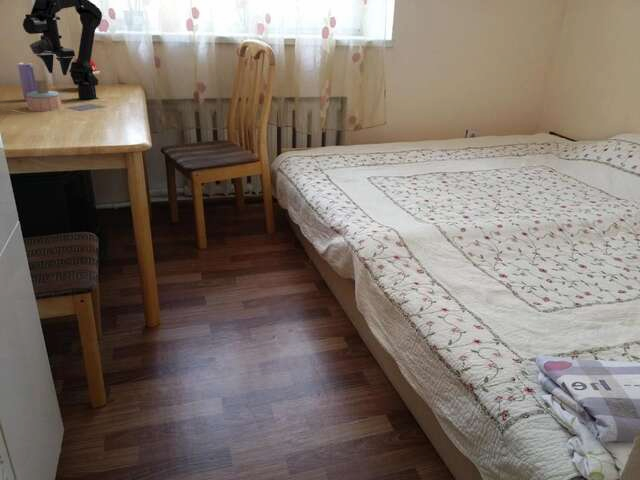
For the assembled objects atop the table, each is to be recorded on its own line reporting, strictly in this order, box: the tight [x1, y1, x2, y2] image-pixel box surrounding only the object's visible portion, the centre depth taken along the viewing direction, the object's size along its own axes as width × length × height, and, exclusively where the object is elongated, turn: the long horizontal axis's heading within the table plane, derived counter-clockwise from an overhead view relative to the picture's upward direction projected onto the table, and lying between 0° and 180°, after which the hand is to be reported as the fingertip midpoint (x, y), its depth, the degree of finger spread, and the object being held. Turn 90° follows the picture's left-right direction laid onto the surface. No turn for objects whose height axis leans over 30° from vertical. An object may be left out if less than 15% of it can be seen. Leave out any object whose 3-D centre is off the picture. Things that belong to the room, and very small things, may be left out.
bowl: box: [26, 94, 63, 112], centre depth 210 cm, size 12×12×5 cm
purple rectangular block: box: [17, 62, 37, 102], centre depth 224 cm, size 6×6×15 cm
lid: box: [27, 79, 60, 98], centre depth 207 cm, size 11×11×6 cm
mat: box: [65, 103, 106, 112], centre depth 214 cm, size 12×10×1 cm
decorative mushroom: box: [68, 57, 101, 88], centre depth 253 cm, size 14×14×15 cm
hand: (57, 74), depth 213 cm, fingers open, 9 cm apart
